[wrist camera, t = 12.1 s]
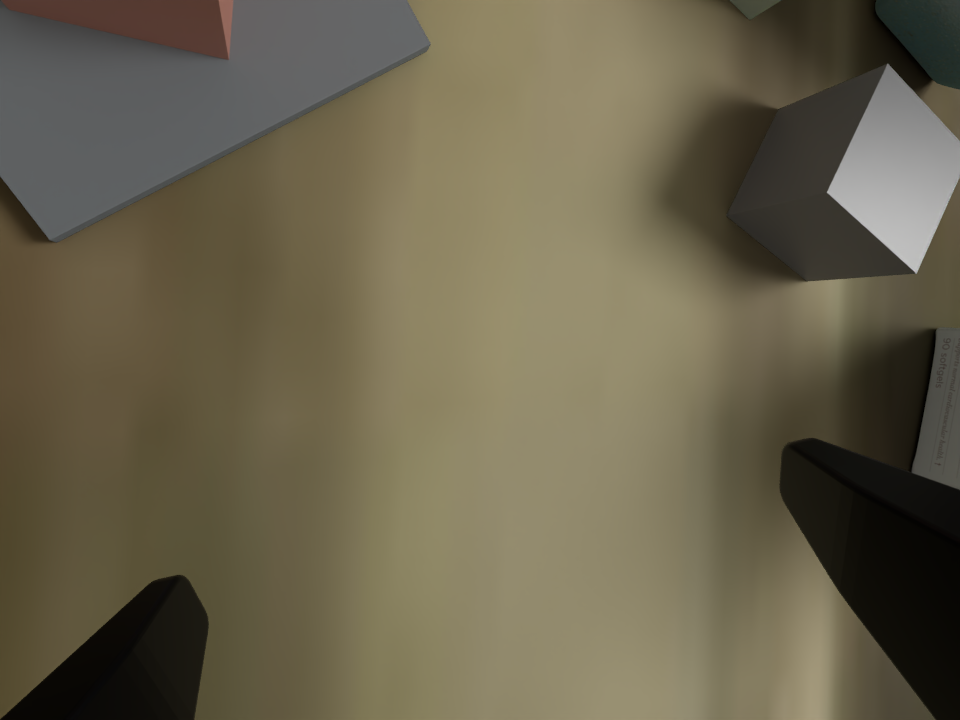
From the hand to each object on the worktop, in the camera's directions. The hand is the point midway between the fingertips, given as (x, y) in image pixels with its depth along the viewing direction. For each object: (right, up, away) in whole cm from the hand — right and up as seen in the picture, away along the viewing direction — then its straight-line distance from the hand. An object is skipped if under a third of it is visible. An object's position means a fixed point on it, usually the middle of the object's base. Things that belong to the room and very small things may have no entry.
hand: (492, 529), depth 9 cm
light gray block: (+13, +9, +15) cm, 22 cm away
